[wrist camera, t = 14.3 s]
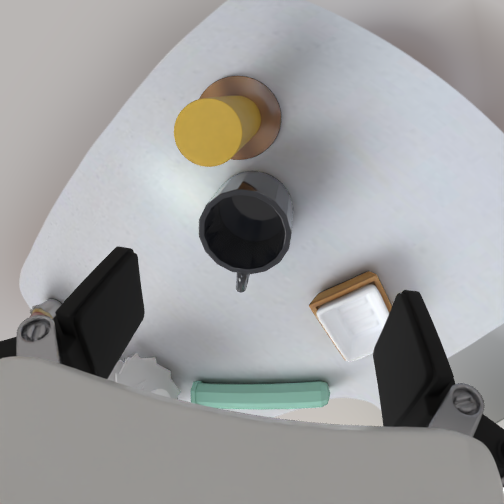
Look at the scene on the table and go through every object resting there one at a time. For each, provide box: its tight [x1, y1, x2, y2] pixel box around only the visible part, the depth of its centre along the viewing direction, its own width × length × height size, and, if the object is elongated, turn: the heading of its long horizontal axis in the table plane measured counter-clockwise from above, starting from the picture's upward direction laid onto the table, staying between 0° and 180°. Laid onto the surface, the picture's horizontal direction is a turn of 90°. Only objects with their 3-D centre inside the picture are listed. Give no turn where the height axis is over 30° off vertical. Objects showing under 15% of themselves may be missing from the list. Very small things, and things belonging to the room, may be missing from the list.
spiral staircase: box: [108, 353, 181, 399], centre depth 53 cm, size 18×18×25 cm
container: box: [191, 381, 330, 409], centre depth 54 cm, size 6×6×25 cm
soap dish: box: [309, 271, 392, 362], centre depth 42 cm, size 12×10×5 cm
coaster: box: [199, 76, 281, 160], centre depth 34 cm, size 10×10×1 cm
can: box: [174, 96, 261, 167], centre depth 29 cm, size 6×6×12 cm
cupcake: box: [30, 299, 62, 319], centre depth 51 cm, size 9×9×10 cm
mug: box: [199, 171, 293, 292], centre depth 37 cm, size 13×10×8 cm
